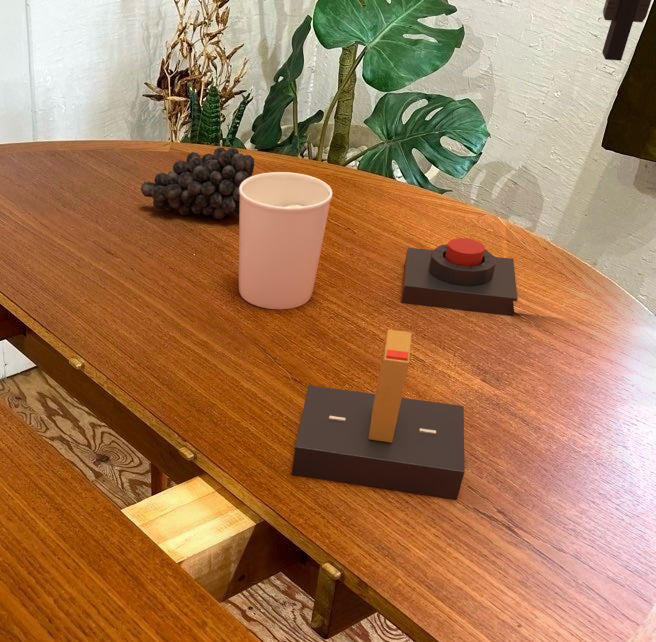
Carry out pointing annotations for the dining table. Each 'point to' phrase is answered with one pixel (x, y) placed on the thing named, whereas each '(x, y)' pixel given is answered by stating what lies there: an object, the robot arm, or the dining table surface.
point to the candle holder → (281, 237)
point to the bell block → (459, 282)
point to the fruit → (188, 183)
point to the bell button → (465, 252)
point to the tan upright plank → (390, 385)
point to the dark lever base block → (381, 444)
